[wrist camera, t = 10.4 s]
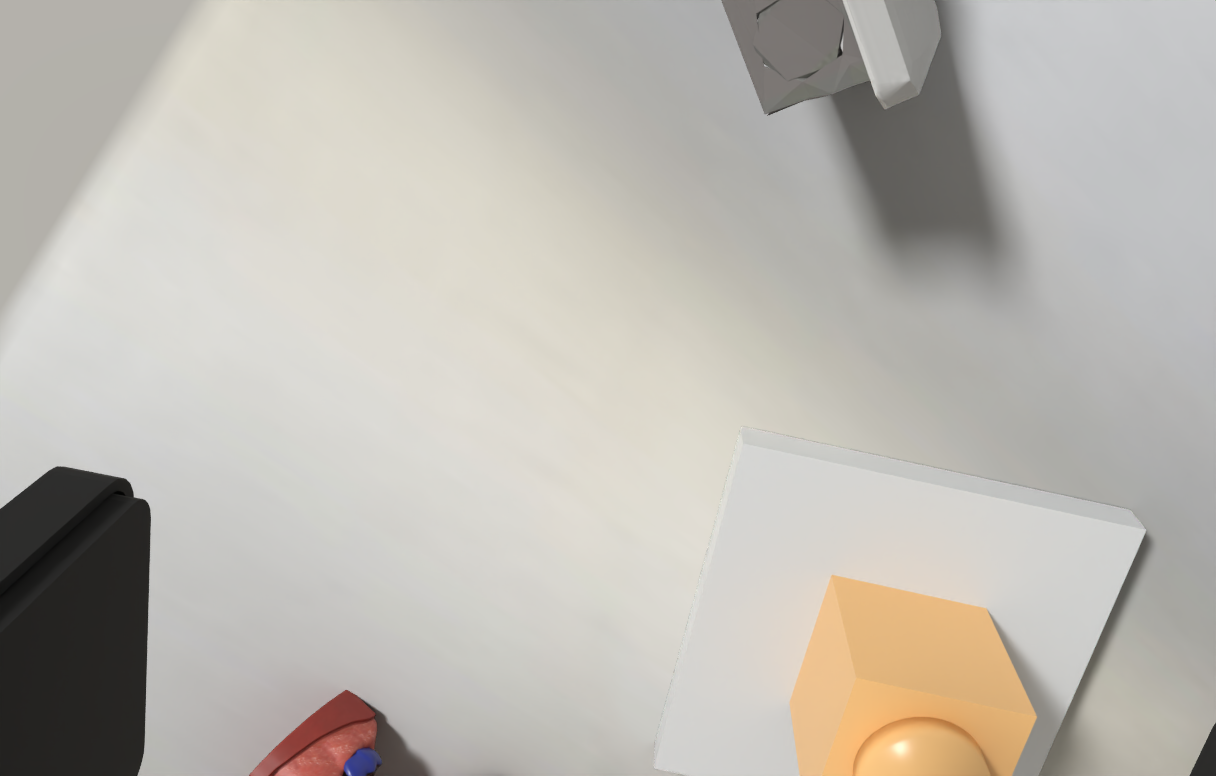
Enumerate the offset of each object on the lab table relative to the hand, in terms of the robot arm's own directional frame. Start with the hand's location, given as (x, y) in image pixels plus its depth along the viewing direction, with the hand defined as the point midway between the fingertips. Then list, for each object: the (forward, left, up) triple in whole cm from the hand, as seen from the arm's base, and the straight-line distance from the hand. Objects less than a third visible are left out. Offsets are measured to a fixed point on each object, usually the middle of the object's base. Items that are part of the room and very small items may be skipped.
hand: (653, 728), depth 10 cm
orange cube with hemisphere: (-11, +15, -26) cm, 32 cm away
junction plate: (-11, +15, -28) cm, 34 cm away
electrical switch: (-2, -8, -28) cm, 29 cm away
